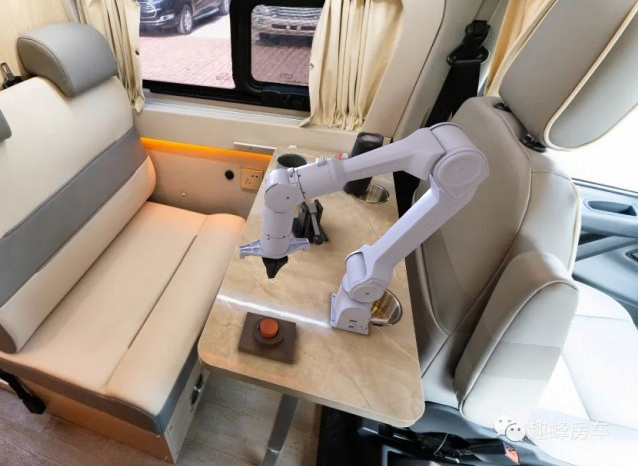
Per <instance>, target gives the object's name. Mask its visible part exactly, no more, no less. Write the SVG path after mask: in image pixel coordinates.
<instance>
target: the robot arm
mask: <svg viewBox="0 0 638 466" xmlns="http://www.w3.org/2000/svg"><path fill="white" fill-rule="evenodd" d="M399 171H401V172H402V171H403V172H405V173H407V174H409V175H412V176H414V177H416V178H418V179H420V180H421V181H425V182H427V181H428V179H429V181H430V182H429V183H430V188H429V189H428V190H427V191H426V192H425V193H424V194H423V195H422V196H421V197H420V198H419V199H418V200H417V201H416V202H415V203H414V204H413V205H412V206H411V207H410V208H409V209H408V210H407V211H405V213H404V214H403V215H402V216H401V217H399V219H398V220H397V221H396V222H395V223H394V224H393V225H392V226H390V228H389V229H387V231H385V233H384V234H383V235H382V236H380V238H379V239H378V240H377V241H375V243H374V244H373V245H369V244H363V245H362V246H360V248H358V249H357V250H355V251H353V252H352V251H351V252H350V253H349V254H348V255H347V256H346V257H345V260H344V264H345V267H346V273H345V274H344V275H343V277H342V280H341V282H340V285H339V288H338V291H337V293H335V292H332V293H331V302H330V320H329V321H330V323H329V326H330V327H331V328H334V329H339V330H344V331H347V332H352V333H357V334H361V335H366V336H368V335H369V323H370V321H371V318H372V304H373V302H376V301H378V300H380V299H381V298H382V297H383V296H384V295H385V291H386V289H387V288H389V286H390V285H391V284H392V279H393V275H394V269H395V267H396V266H397V265H399V264H400V263H401V262H402V261H403V260H404V259H405V258H407V257H408V256H409V255H410V254H411V253H412V252H413V251H415V250H416V249H417V248H418V247H419V246H420V245H421V244H423V243H424V242H425V241H426V240H427V239H428V238H430V236H432V235H433V234H434V233H435V232H436V231H438V230H439V229H440V228H441V227H442V226H443V225H444V224H446V222H448V221H449V220H450V219H451V218H453V217H454V216H455V215H456V214H457V213H458V212H459V211H461V210H462V209H463V208H464V207H465V206H466V205H467V204H468V203H469V202H471V200H472V199H473V197H474V196H475V193H476V191H477V189H478V186H479V185H480V184H481V183H482V182H484V181H485V180H486V179H487V178H488V177H489V176H490V173H491V172H490V168H489V164H488V159H487V156H486V154H485V153H484V152H482V151H481V150H480V149H478V147H477V146H476V145H475V144H474V143H473V142H472V140H471V139H470V138H469V137H468V136H467V134H466V133H465V132H464V131H463V129H462V127H460V125H458V124H457V123H454V122H450V121H443V122H439V123H436V124H434V125H431V126H430V127H423V128H419V129H417V130H415V131H414V132H412V133H411V134H409V135H408V136H406V137H405V138H403V139H400V140H397V141H394V142H392V143H388V144H385V145H383V146H382V147H380V148H377V149H375V150H372V151H369V152H366V153H364V154H361V155H358V156H355V157H353V158H350V159H347V160H344V161H341V160H339V159H336V158H335V156H334V157H333V156H330V157H328V158H325V157H324V156H320V157H317V158H315V161H314V162H311V163H308V164H307V165H304V166H301V167H297V168H293V167H292V168H289V169H284V168H281V169H276V168H275V169H274V170H272V171H271V172H270V174H267V177H266V178H265V181H264V183H265V185H264V186H265V187H264V206H263V209H262V220H261V230H260V231H261V232H260V238H258V239H256V240H253V241H251V242H248V243H246V244H245V243H244V244H242V245H241V244H240V245H238V246H237V254H238V258H239V260H244V259H245V258H246V257H249V256H252V257H259V258H260V257H261V260H262V263H263V265H264V267H265V273H266V276H267V279H268V280H271V279H275V278H276V276H277V274H278V272H279V271H280V270H281V269H282V268H283V267H284V266H285V265H286V264H288V262H289V259H290V257H289V256H290V255H291V254H294V253H296V252H298V251H303V252H304V253H305V252H306V253H307V252H310V248H311V243H309V241H308V239H307V238H305V239H300V238H294V237H291V236H292V231H291V230H292V224H293V218H295V209H296V208H297V207H298V206H300V203H303V201H305V202H306V201H307V200H308V201H309V200H312V199H315V198H318V197H319V198H320V197H322V196H327V195H330V194H334V193H337V192H341V191H342V190H343V187H344V186H345V184H346V183H347V182H348V181H353V180H357V179H362V178H367V177H372V176H373V177H376V176H381V175H385V174H391V173H395V172H399Z"/></svg>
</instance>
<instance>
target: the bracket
mask: <svg viewBox="0 0 638 466" xmlns="http://www.w3.org/2000/svg"><path fill="white" fill-rule="evenodd" d="M313 203H315V206H316V209H317V213H316V214H315V217H316V221H317V225H318V229H319V233H320V235H322V236H323V237H324V243H325V242H329V237H328V236H327V234H326V232H325V230H324V229H323V227H322V226H321V220H322V218H323V217H322V216H323V213H324V207H323V205H322V203H321V202H320V201H319V199H318V198H316V199H315V198H314V200H313ZM308 215H309V208H308V206H307V203H306V200H305V201H303V203H300V204H299V207H298V215H297V217H294V218H293V224H292V230H291V234H292V236H293V238H300V239H305V238H307V239H308V241H309V243H310V244H314V242H313V237H314V236H315V234H314V230H313V226H312V222H311V218H310V216H308Z"/></svg>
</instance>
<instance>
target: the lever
mask: <svg viewBox="0 0 638 466" xmlns="http://www.w3.org/2000/svg"><path fill="white" fill-rule="evenodd" d="M306 205H307V206H308V208H309V215H308V216H310V218H311V222H312V226H313V230H314V234H315V236H314V237H313V242H314V243H313V244H314V245H316V246H323V244H324V243H325V242H324V237H323V236H322V235H320V233H319V229H318V225H317V221H316V217H315V214H316V213H317V209H316V206H315V203H314V202H311V203H306Z"/></svg>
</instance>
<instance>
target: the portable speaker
mask: <svg viewBox="0 0 638 466" xmlns="http://www.w3.org/2000/svg"><path fill="white" fill-rule="evenodd" d="M384 140H385V137H384V136H383V135H382V134H381V133H378V132H376V133H375V132H365V131H361V132H358V134H357V136H356V139H355V141H354V144H353V146H352V148H351V152H350V154H349V155H350V158H353V157H355V156H358V155H361V154H364V153H366V152H369V151H372V150H375V149H377V148H380V147H383V146H384ZM373 177H374V176H372V177H367V178H362V179H357V180H353V181H348V182H347V183H346V184H345V186H344V187H343V188H342V190H343V192H345V193H346V194H348V193H350V194H355V195H356V196H358V197H361V196H364V195H365V194H366V193H367V191H368V189H369V187H370V184H371V182H372V181H373Z"/></svg>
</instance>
